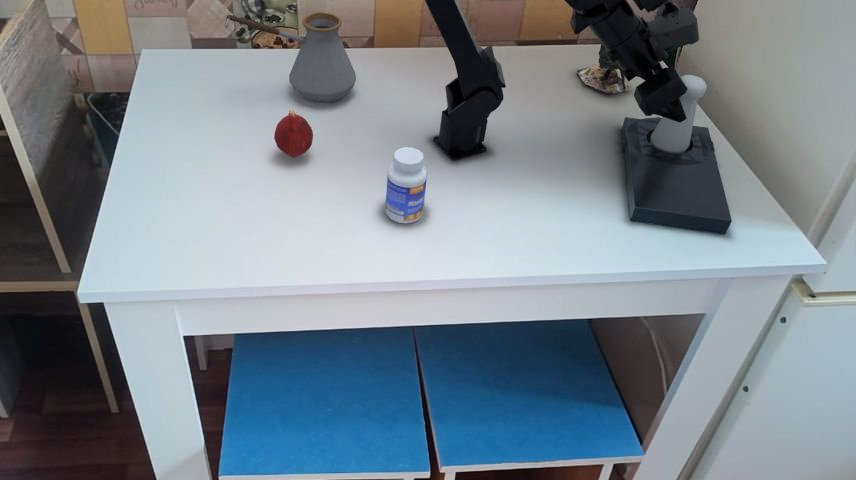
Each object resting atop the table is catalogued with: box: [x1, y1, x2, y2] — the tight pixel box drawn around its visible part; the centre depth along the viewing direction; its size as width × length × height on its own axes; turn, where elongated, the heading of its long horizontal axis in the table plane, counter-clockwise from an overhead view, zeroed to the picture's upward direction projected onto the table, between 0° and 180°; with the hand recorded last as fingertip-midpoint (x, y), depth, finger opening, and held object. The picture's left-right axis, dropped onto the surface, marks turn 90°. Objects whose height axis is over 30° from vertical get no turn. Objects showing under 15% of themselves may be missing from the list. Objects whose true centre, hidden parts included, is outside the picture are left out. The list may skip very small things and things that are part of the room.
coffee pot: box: [224, 11, 357, 104], centre depth 121 cm, size 21×12×15 cm, turn 102°
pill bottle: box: [384, 146, 428, 224], centre depth 101 cm, size 5×5×10 cm
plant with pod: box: [576, 42, 629, 95], centre depth 124 cm, size 8×11×20 cm
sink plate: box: [620, 116, 733, 235], centre depth 111 cm, size 25×13×2 cm, turn 168°
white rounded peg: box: [650, 74, 707, 154], centre depth 112 cm, size 6×6×13 cm
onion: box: [273, 109, 314, 158], centre depth 110 cm, size 6×6×8 cm
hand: (674, 103), depth 110 cm, fingers open, 9 cm apart
